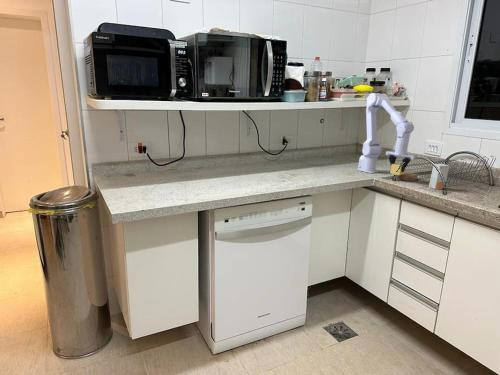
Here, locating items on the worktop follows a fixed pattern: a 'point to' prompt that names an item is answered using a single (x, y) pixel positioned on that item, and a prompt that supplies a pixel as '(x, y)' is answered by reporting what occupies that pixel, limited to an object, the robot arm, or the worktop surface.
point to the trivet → (407, 176)
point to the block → (395, 167)
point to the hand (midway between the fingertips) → (397, 170)
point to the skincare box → (438, 176)
